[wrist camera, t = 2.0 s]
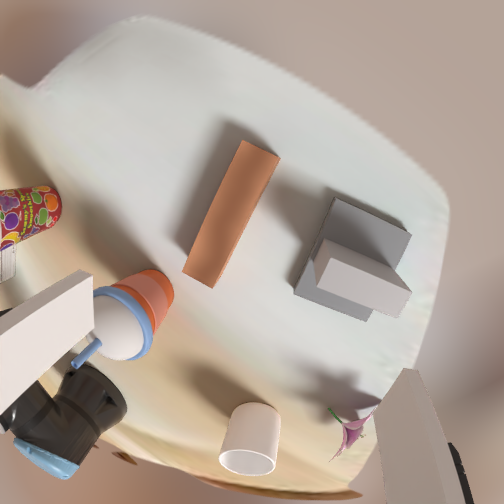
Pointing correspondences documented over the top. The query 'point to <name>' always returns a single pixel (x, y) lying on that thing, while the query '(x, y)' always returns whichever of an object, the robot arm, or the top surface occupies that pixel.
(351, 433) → the lily
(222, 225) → the batten
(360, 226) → the ridge stand
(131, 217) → the top surface
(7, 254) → the supplement box
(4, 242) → the smoothie
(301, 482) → the top surface
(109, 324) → the cup with straw
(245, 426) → the cup
